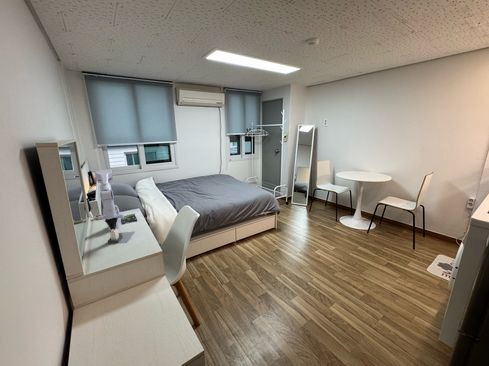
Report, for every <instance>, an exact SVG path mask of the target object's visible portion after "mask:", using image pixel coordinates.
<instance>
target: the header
mask: <svg viewBox="0 0 489 366" xmlns="http://www.w3.org/2000/svg"><path fill="white" fill-rule="evenodd" d="M122 238H123V236H122V235H119V238H118V239H117V240H111V237H109V239H108V240H107V244H109V245H112V244H111V243H119V241H120V240H121V239H122Z"/></svg>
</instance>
